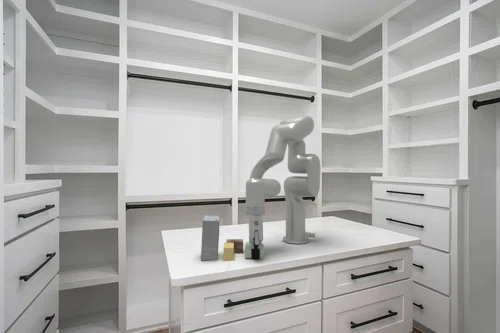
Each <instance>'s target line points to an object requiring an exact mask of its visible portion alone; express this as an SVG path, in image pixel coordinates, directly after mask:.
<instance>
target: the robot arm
mask: <svg viewBox="0 0 500 333" xmlns="http://www.w3.org/2000/svg"><path fill="white" fill-rule="evenodd" d="M314 128H315V121H314V119H313V118H312V117H311V116H309V115H302V116H297V117H296V116H295V117H291V118H290V117H289V118H286V119H283V120H281V121H280V122H279V124H277V125H274V126H273V127H272V129H271V131H270V135H269V139H268V142H267V146H266V150H265V153H264V155H263V156H262V157H261V158H260V159H259V160H258V162H257V163H256V164H255V165H254V166H253V167H252V170H251V173H250V176H249V179H248V180H246V183H245V215H246V216H248V237H249V236H250V240H251V243H252V248H251V258H250V259H251V260H260V248H259V238H260V240H261V241H262V242H263V241H264V225H263V224H264V223H263V222H264V221H263V219H264V218H263V216H264V215H265V214H266V213H265V212H266V211H265V209H266V208H265V207H266V206H265V204H266V203H265V200H266V199H265V197H269V198H274V197H277V196H278V195H279V194H280V193H281V190H282V185H281V183H280V182H279V180H277V179H274V178H263V176H264V175H265V173H266V172H267V171H268V170H269V169H271V168H273V167H274V166H277V165H278V164H280V163H282V162H283V161H284V159H285V156H286V151H287V170H288V172H289V173H291V174H300V176H299V175H292V176H288V177H286V178H285V180H284V182H283V191H284V197H285V235H284V236H283V237H282V241H283V242H284V243H287V244H291V245H303V244H304V245H305V244H307V243H309V241H310V240H309V238H316V233H315V232H307V230H306V203H305V200H304V198H303V197H309V198H311V197H312V198H313V197H317V196H318V194H319V192H320V188H321V186H320V184H321V160H320V158H319V156H318V155H316V154H315V153H306V142H305V140H304V139H305V138H307V137H308V136H309V135H311V134H312V132H313V131H314V130H315V129H314ZM287 146H288V147H287ZM287 149H288V150H287ZM301 174H305V175H306V174H307V175H306V176H301Z"/></svg>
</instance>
